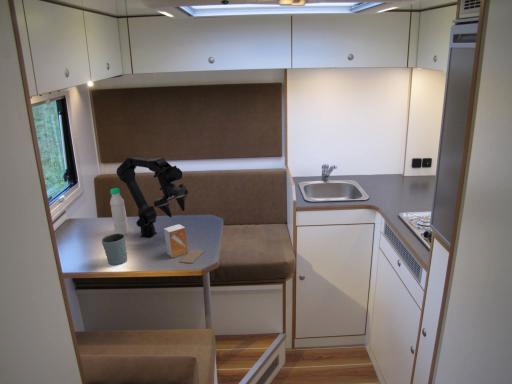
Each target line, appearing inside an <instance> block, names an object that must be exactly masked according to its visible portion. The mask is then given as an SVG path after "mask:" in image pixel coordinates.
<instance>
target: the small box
mask: <svg viewBox="0 0 512 384" xmlns="http://www.w3.org/2000/svg"><path fill="white" fill-rule="evenodd" d="M163 232H164V240H165V241H164V242H165V247H166V253H167V255H168V256H169V257H171V258H176V257H179V256H182V255H186V254H187V253H189V250H188V243H187V241H188V240H187V235H186V234H187V233H186V227H185V226H183V225H181V224H179V223H178V224H175V225H174V224H173V225H171V226H168V227H164V228H163Z"/></svg>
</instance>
